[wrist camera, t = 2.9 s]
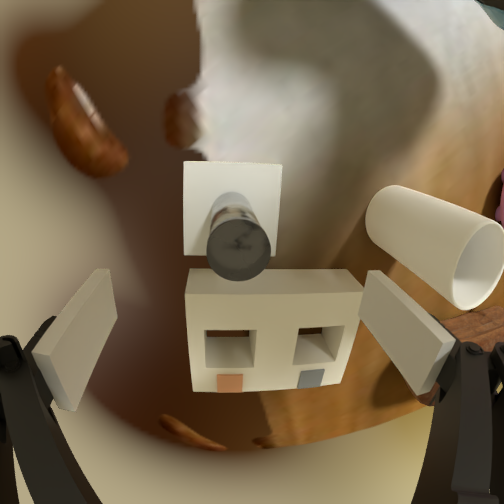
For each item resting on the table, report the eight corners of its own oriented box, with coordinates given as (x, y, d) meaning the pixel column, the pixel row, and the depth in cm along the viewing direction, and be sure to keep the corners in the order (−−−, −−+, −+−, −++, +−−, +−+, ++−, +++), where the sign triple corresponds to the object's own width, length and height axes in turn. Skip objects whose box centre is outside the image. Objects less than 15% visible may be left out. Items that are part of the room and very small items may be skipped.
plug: (211, 190, 29) (206, 219, 18) (252, 191, 30) (273, 221, 18) (210, 229, 31) (206, 281, 19) (250, 230, 31) (268, 281, 20)
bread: (482, 348, 48) (511, 379, 36) (389, 379, 45) (419, 427, 34) (503, 296, 43) (539, 324, 32) (411, 317, 40) (455, 364, 29)
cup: (362, 249, 34) (440, 318, 20) (367, 183, 32) (463, 220, 17) (412, 246, 35) (493, 302, 20) (419, 186, 32) (514, 221, 17)
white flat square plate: (185, 161, 29) (183, 161, 28) (280, 164, 30) (282, 165, 29) (185, 251, 32) (184, 255, 31) (273, 253, 33) (275, 256, 32)
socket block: (189, 268, 33) (184, 295, 27) (346, 268, 35) (368, 292, 29) (195, 360, 38) (192, 393, 32) (326, 355, 40) (340, 384, 34)
